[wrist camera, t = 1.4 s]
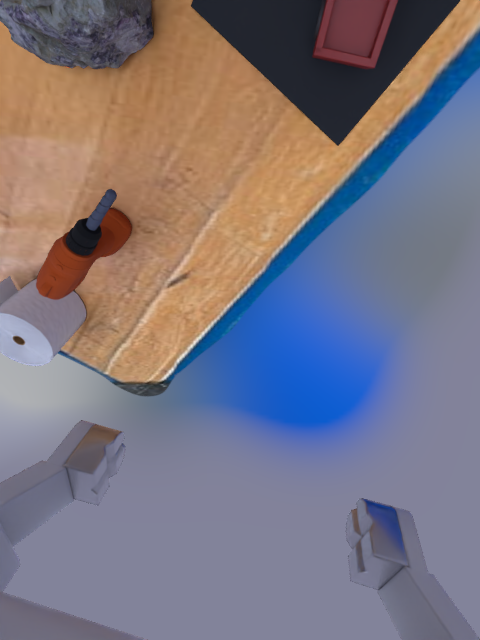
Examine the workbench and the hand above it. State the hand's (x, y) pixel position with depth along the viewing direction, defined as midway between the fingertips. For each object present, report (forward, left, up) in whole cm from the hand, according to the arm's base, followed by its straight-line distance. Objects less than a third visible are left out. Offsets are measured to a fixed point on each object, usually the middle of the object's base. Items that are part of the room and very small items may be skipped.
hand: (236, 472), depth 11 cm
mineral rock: (-22, -11, -35) cm, 43 cm away
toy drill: (-5, -20, -35) cm, 41 cm away
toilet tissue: (+3, -43, -35) cm, 56 cm away
